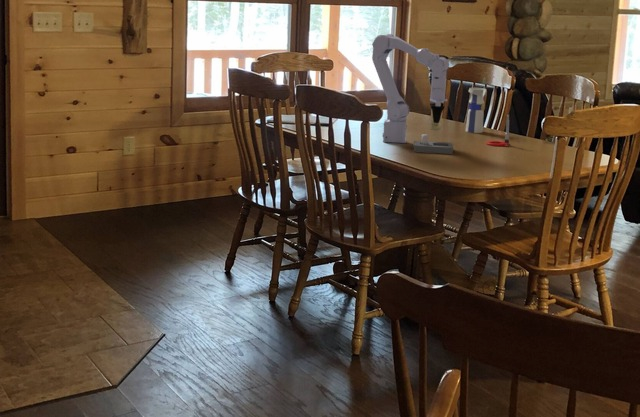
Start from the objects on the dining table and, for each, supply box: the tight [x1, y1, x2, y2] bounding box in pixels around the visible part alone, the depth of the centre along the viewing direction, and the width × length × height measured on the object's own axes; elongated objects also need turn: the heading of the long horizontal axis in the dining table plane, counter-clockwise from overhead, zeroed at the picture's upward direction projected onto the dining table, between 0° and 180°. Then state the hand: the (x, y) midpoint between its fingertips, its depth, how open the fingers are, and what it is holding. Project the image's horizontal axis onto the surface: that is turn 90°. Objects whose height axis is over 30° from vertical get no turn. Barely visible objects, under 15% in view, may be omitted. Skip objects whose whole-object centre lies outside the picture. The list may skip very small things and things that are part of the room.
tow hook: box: [485, 114, 510, 147], centre depth 360 cm, size 8×13×9 cm
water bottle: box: [465, 76, 488, 134], centre depth 389 cm, size 8×9×25 cm
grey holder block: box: [413, 134, 454, 155], centre depth 343 cm, size 15×11×6 cm
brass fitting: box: [429, 109, 443, 131], centre depth 350 cm, size 4×4×9 cm
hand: (435, 121), depth 350 cm, fingers closed on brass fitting, 4 cm apart
